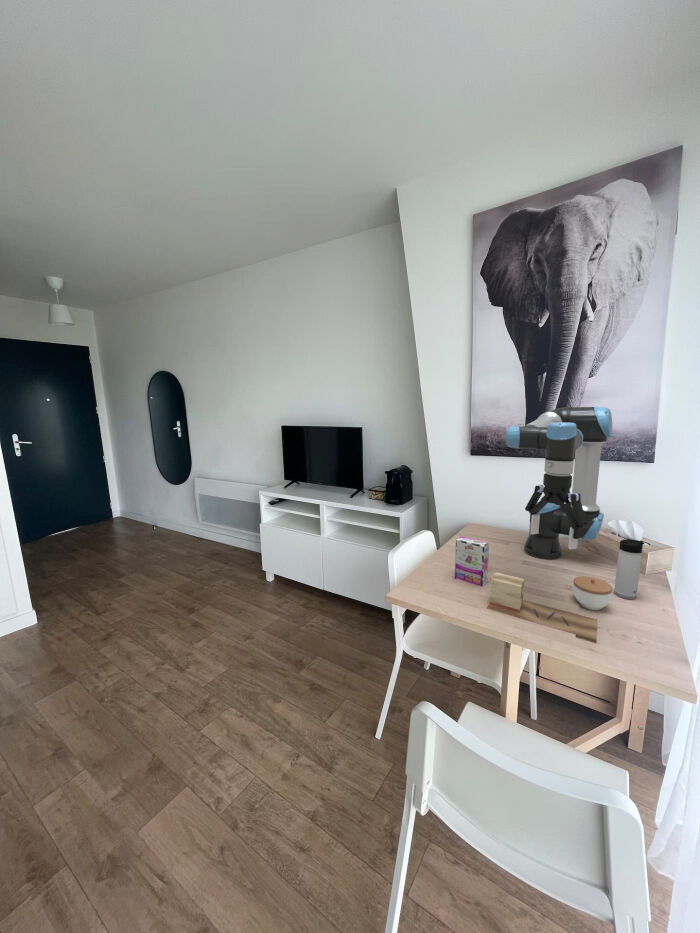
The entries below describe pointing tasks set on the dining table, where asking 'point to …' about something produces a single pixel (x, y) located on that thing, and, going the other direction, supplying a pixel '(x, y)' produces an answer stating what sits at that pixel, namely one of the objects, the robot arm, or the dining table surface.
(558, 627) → the board
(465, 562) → the candy bar box
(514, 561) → the dining table surface
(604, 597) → the lidded jar
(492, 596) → the block
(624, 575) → the travel mug
